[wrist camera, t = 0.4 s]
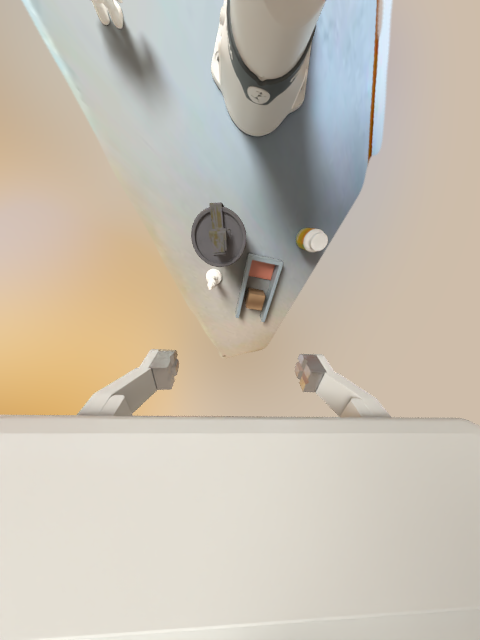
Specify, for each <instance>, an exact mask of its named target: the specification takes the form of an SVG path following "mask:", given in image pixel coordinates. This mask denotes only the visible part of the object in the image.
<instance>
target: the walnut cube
mask: <svg viewBox="0 0 480 640" xmlns="http://www.w3.org/2000/svg"><path fill="white" fill-rule="evenodd" d="M264 300H265V294H264V291H263V290H258V289H252V288H248V292H247V296H246V300H245V304H246V308H249V309H255V310H262V306H263V303H264Z"/></svg>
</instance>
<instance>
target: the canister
mask: <svg viewBox="0 0 480 640" xmlns="http://www.w3.org/2000/svg"><path fill="white" fill-rule="evenodd" d="M191 238H192V244H193V247H194V249H195V251H196V253H197V254H198V256H199V257H200V258H201V259H202V260H203V261H205V262H206V263H207V264H210V265H212V266H216V267H224V266H228V265H231V264H233V263H234V262H236V261H237V260H238V259H239V258H240V257H241V255H242V254H243V251H244V249H245V245H246V231H245V227H244V225H243V223H242V221H241V219H240V218H239V217H238V215H236V214H235V213H234V212H233V211H232V210H230V209H228V208H226V207H224V206H223V204H222V203H210V207H209V208H207V209H205V210H203V211H202V212H201V213H200V214H199V215H198V216H197V217H196V219H195V220H194V223H193V226H192V231H191Z"/></svg>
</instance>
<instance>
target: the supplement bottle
mask: <svg viewBox="0 0 480 640" xmlns="http://www.w3.org/2000/svg"><path fill="white" fill-rule="evenodd" d="M327 242H328V237H327V235H326V234H324V232H323V231H322V230H320V229H315V228H303V229H302V230H300V231H299V232H298V234H297V236H296V244H297V246H298V247H299V248H301V249H304V250H306V251H309V252H316V251H320V250H322V249H324V248H325V246H326V245H327Z"/></svg>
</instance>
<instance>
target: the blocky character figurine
mask: <svg viewBox="0 0 480 640" xmlns="http://www.w3.org/2000/svg"><path fill="white" fill-rule="evenodd" d="M91 1H92V2H93V5H94V7H95V10H96V12H97V14H98V17H99V19H100V21H101V22H102V23H103V24H104V25H108V24H109V22H110V21H109V16H108V11H109V14H110V16H111V19H112V21H113V23H114V24H115V26H116V27H117V28H119V29H121V28H122V27H123V14H122V10H121V8H120V6H119V4H118V3H117V2H116V1H113V0H91ZM117 1H118V2H120V3H123V1H122V0H117Z"/></svg>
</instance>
